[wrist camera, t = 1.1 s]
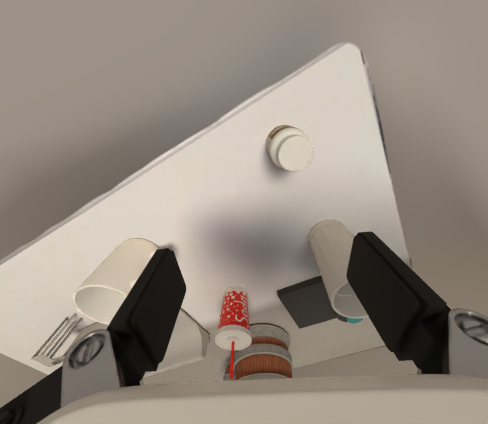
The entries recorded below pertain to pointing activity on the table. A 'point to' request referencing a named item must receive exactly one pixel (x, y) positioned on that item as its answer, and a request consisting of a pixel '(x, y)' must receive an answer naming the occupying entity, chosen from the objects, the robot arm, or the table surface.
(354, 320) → the button
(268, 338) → the mug
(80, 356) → the robot arm
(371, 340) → the table surface
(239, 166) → the table surface
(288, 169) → the pill bottle
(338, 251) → the cup
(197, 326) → the grey desk tray
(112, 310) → the mug
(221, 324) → the beverage cup
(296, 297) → the scale
